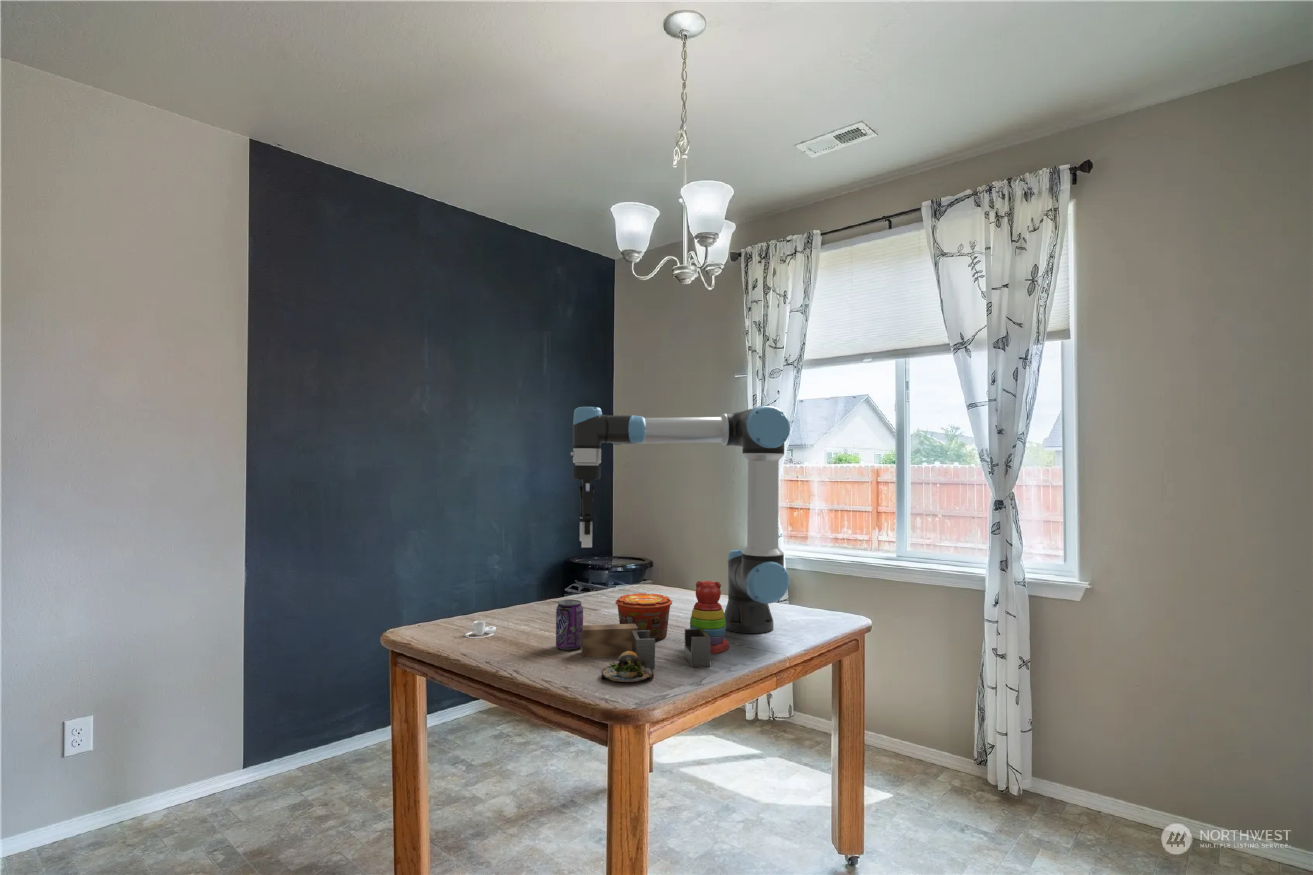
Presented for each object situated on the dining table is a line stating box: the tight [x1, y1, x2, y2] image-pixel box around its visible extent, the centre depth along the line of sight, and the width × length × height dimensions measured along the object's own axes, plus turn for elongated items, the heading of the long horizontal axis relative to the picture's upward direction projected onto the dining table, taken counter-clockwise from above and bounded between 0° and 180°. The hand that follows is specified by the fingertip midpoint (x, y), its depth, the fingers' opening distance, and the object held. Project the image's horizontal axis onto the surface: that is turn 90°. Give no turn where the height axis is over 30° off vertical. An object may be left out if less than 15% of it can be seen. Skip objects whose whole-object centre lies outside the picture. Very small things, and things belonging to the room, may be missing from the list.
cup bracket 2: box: [684, 628, 711, 669], centre depth 170 cm, size 4×9×7 cm, turn 9°
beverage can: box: [555, 599, 584, 651], centre depth 182 cm, size 7×7×12 cm
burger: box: [600, 647, 655, 683], centre depth 157 cm, size 12×12×8 cm
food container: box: [615, 592, 673, 642], centre depth 194 cm, size 16×16×11 cm
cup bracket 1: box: [632, 630, 656, 670], centre depth 168 cm, size 4×9×7 cm, turn 9°
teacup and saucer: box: [464, 620, 497, 639], centre depth 195 cm, size 9×8×4 cm
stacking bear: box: [689, 580, 730, 655], centre depth 182 cm, size 11×10×18 cm
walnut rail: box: [581, 623, 638, 659], centre depth 177 cm, size 14×5×7 cm, turn 100°
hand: (585, 544), depth 184 cm, fingers open, 13 cm apart
